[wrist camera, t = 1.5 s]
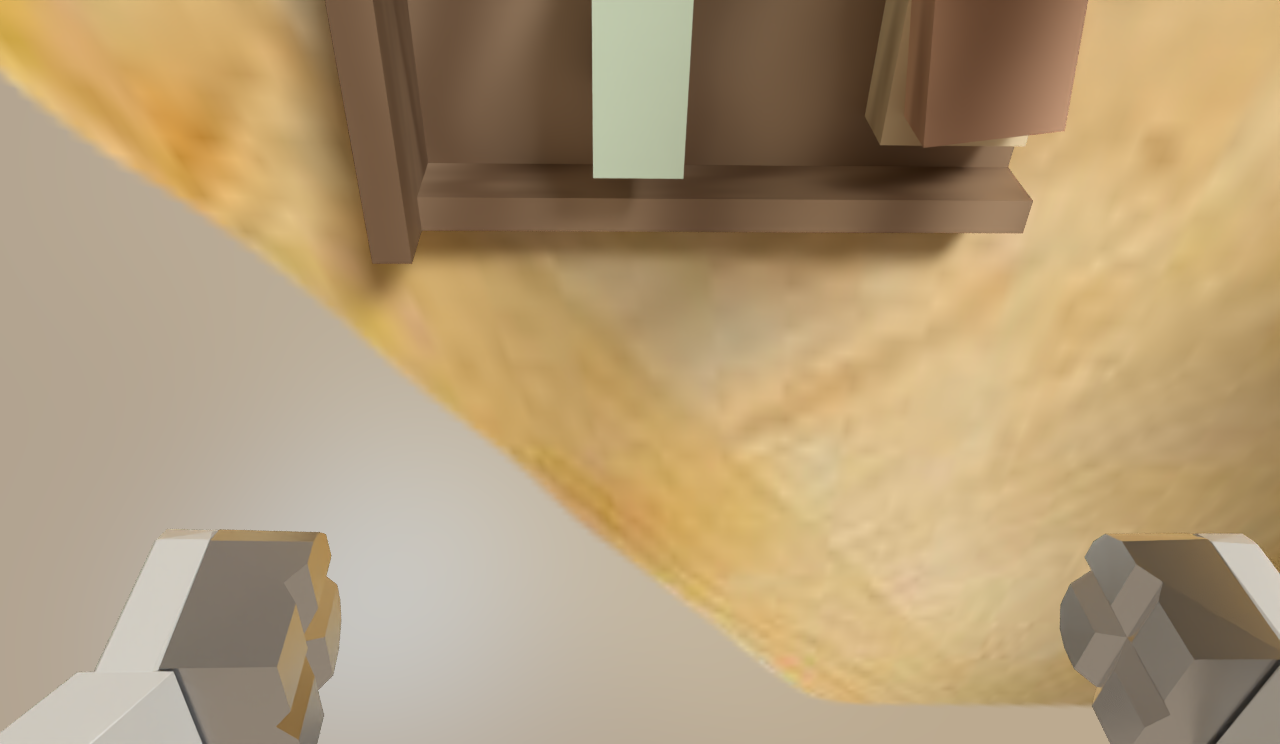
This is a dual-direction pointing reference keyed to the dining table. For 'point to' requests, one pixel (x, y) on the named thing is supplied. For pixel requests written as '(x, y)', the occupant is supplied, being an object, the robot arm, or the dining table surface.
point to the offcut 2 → (990, 68)
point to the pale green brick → (640, 87)
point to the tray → (563, 127)
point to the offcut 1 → (900, 83)
